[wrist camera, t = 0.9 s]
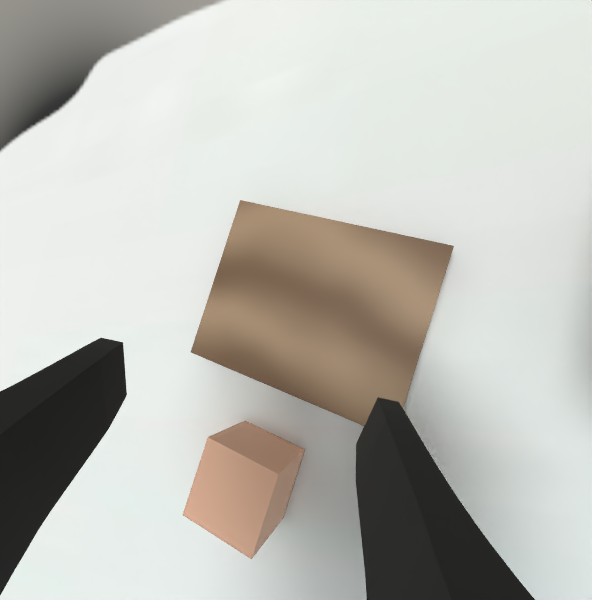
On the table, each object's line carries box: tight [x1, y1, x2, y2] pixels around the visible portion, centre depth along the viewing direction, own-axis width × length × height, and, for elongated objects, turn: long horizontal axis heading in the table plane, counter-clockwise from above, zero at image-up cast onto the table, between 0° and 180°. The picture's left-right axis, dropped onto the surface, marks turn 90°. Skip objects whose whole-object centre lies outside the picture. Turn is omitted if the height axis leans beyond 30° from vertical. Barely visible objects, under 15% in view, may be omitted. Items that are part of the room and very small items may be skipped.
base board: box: [191, 200, 454, 426], centre depth 22 cm, size 11×14×2 cm
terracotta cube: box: [183, 421, 305, 559], centre depth 20 cm, size 4×4×4 cm
